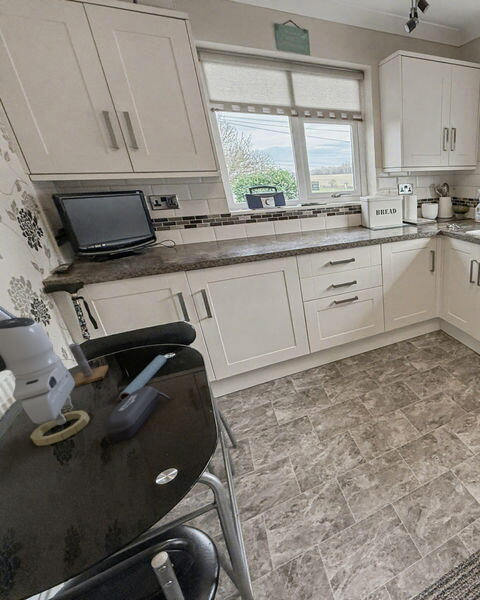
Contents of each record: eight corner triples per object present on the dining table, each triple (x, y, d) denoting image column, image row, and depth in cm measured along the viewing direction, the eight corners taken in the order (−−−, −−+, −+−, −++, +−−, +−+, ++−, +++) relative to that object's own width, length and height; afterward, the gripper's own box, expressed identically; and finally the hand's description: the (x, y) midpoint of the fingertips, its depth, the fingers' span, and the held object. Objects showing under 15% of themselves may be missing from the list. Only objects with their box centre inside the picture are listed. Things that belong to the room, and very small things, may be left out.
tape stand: (69, 389, 108) (50, 354, 103) (76, 377, 115) (59, 343, 110) (104, 379, 112) (87, 345, 107) (109, 368, 119) (93, 335, 114)
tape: (28, 453, 82) (23, 446, 81) (43, 428, 90) (39, 421, 89) (84, 434, 87) (80, 427, 86) (93, 412, 95) (90, 405, 95)
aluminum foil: (133, 400, 99) (129, 391, 98) (109, 405, 98) (104, 395, 97) (168, 362, 120) (164, 354, 119) (148, 365, 119) (144, 357, 118)
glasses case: (131, 402, 96) (132, 380, 94) (171, 406, 100) (174, 384, 98) (91, 448, 80) (92, 421, 78) (142, 450, 83) (143, 425, 81)
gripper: (40, 362, 94) (62, 402, 99) (9, 399, 77) (37, 444, 82) (69, 355, 97) (89, 393, 102) (45, 389, 80) (70, 432, 85)
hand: (66, 416), depth 92 cm, fingers open, 5 cm apart
